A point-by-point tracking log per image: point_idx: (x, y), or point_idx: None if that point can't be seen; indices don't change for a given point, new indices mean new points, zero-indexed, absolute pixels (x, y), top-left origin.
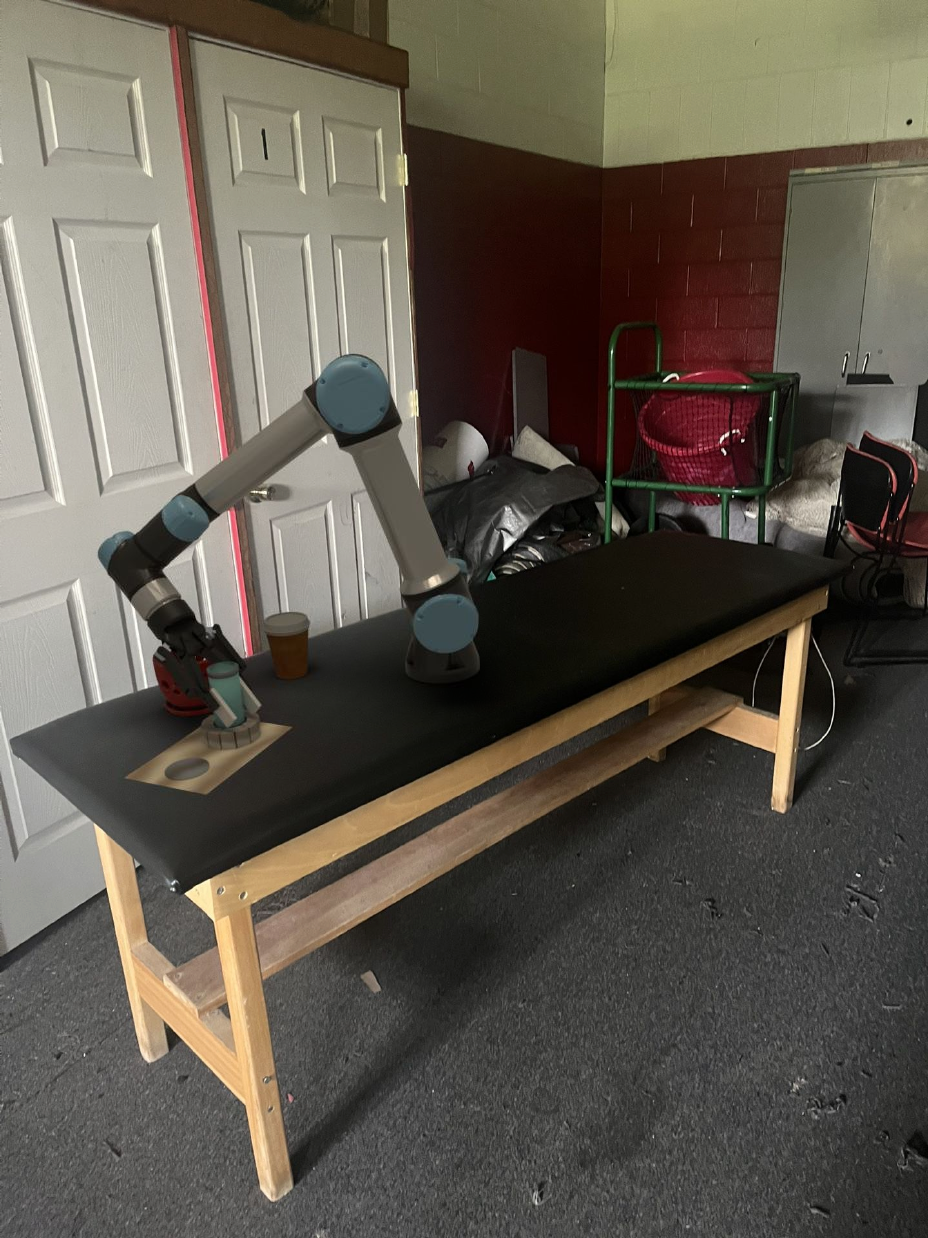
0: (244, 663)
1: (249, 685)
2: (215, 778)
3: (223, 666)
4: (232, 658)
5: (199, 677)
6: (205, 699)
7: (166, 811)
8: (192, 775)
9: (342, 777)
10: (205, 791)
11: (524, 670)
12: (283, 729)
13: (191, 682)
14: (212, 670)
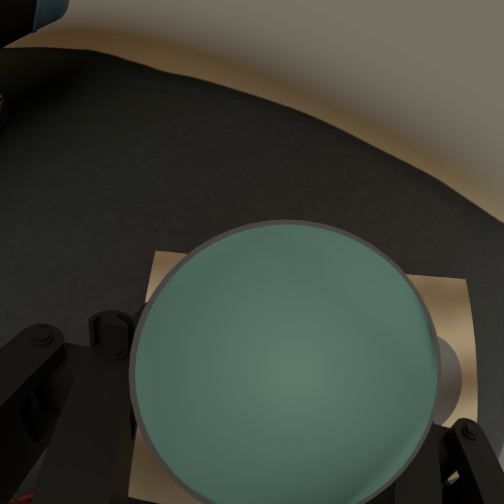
0: (23, 338)
1: (142, 309)
2: (429, 297)
3: (279, 375)
4: (9, 422)
5: (427, 479)
6: None
7: (496, 326)
8: (442, 348)
9: (310, 122)
10: (461, 286)
11: (8, 80)
12: (171, 266)
13: (479, 463)
14: (400, 414)
